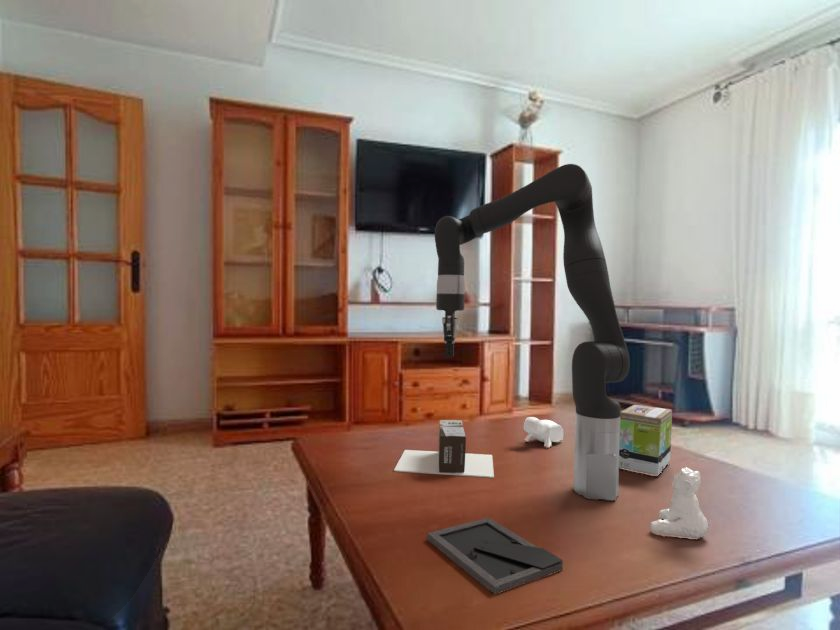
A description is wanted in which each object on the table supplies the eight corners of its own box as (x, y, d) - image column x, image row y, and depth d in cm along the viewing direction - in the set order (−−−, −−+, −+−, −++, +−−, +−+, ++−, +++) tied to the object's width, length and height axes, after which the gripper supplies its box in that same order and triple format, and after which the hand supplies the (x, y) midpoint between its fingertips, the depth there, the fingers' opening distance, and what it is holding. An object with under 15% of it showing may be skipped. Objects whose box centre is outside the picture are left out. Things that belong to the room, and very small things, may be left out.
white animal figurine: (539, 447, 149) (511, 437, 140) (545, 421, 151) (519, 409, 142) (563, 454, 143) (536, 444, 133) (569, 426, 145) (543, 414, 135)
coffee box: (438, 419, 131) (439, 434, 114) (462, 420, 130) (466, 435, 114) (438, 453, 131) (438, 472, 114) (461, 453, 130) (465, 473, 114)
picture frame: (562, 573, 73) (488, 525, 88) (562, 560, 73) (488, 515, 88) (494, 598, 66) (427, 542, 82) (494, 583, 66) (427, 530, 82)
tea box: (659, 479, 114) (661, 417, 114) (616, 469, 121) (617, 411, 120) (671, 463, 126) (672, 408, 126) (630, 455, 133) (632, 402, 132)
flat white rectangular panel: (493, 477, 113) (493, 476, 113) (393, 471, 116) (393, 470, 116) (492, 456, 129) (492, 454, 129) (404, 450, 132) (404, 449, 132)
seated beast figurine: (661, 516, 93) (662, 455, 93) (712, 530, 88) (714, 465, 87) (648, 533, 86) (650, 467, 85) (703, 550, 80) (705, 479, 80)
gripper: (463, 291, 120) (462, 360, 121) (465, 293, 134) (464, 355, 134) (434, 291, 121) (432, 359, 121) (438, 293, 134) (437, 354, 135)
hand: (449, 357), depth 128 cm, fingers closed
